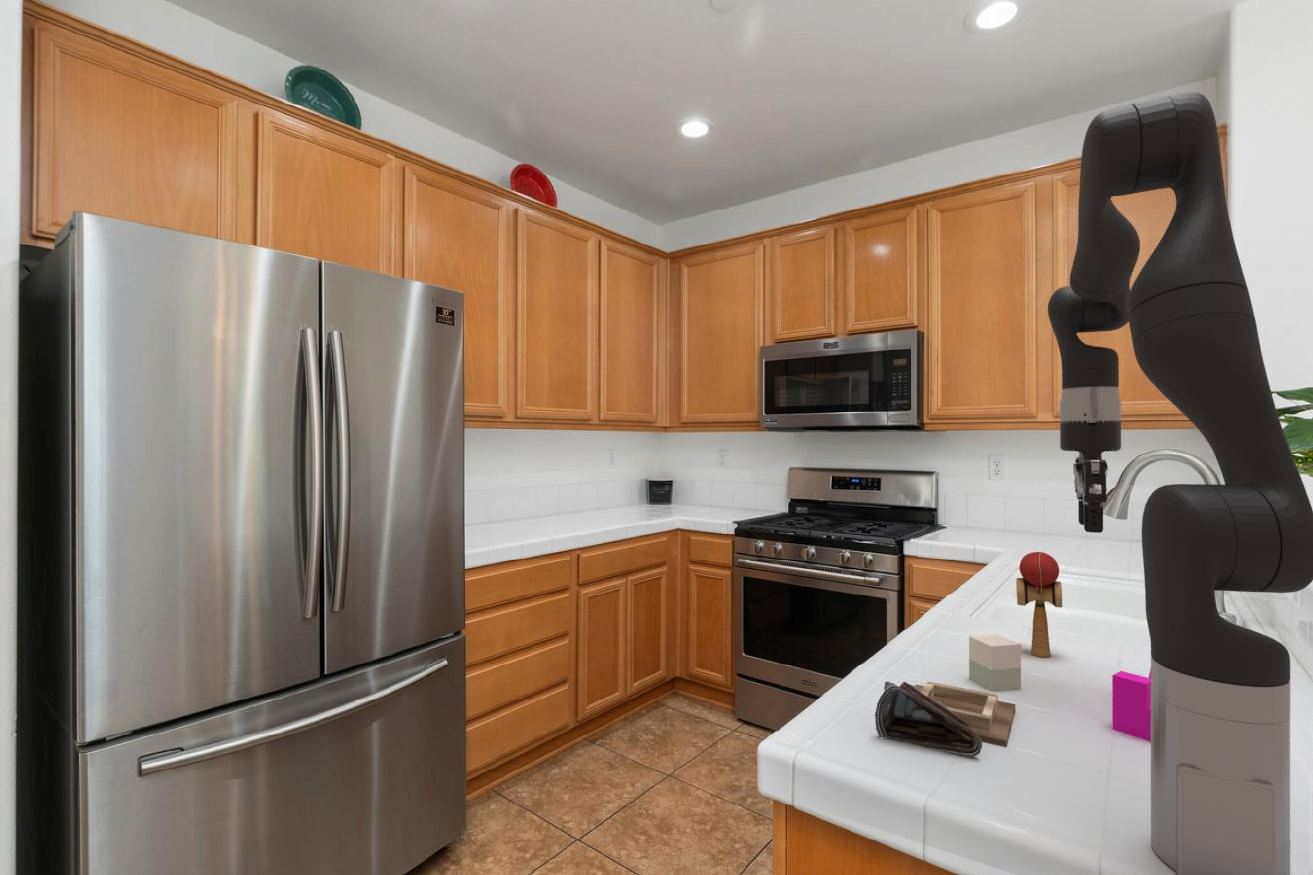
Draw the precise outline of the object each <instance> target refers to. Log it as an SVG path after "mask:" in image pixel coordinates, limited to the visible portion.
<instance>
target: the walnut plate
mask: <svg viewBox="0 0 1313 875" xmlns="http://www.w3.org/2000/svg"><path fill="white" fill-rule="evenodd" d="M914 686H917V687H918V688H919V690H920V691H921V692H922V693H923V694H924V695H926V696H928V697H930V698H931V699H933V700H934V701H935V702H938V701H940V702H942V703H943V704H944V705H945V707H946V708H947V709H949V710H950V711H951V712H953V713H955V714H956V715H957V716H959V717H960V718H962V719H963V720H964V721H965V722H967V724H968V725H969V727H970V728H971V729H972V730H974V731H975V732H976V733H977V734H978V735H979V737H980V739H981V741H982V743H983V742H984V743H987V744H992V745H996V746H1000V747H1004V748H1007V746H1008V743H1009V738H1010V735H1011V730H1012V726H1013V721H1014V719H1015V714H1016V703H1011V702H1007V701H1001V700H998V699H999V698H998V697H999V696H998V694H996V693H990V692H985V691H980V690H975V689H974V690H973V689H969V688H965V687H958V686H954V685H947V684H944V683H943V684H942V683H939V682H933V681H926V684H924V685H920V684H915V685H914Z"/></svg>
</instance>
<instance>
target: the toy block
mask: <svg viewBox="0 0 1313 875" xmlns="http://www.w3.org/2000/svg"><path fill="white" fill-rule="evenodd" d="M1111 678H1112V684H1111V685H1112V687H1111V688H1112V690H1111V692H1112V693H1111V694H1112V701H1111V702H1112V707H1111V708H1112V716H1111V718H1112V720H1111V721H1112V725H1111V726H1112V728H1111V729H1112V730H1113V731H1117V732H1120V733H1123V734H1125V735H1128V736H1129V735H1130V736H1132V737H1136V738H1138V739H1141V740H1144V741H1148V742H1150V743H1151V667H1150V670H1149V674H1148V677H1146V676H1143V675H1138V674H1135V673H1131V672H1127V671H1123V670H1120V671H1118V672H1116V673H1114V674H1112V677H1111Z"/></svg>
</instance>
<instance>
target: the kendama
mask: <svg viewBox="0 0 1313 875" xmlns="http://www.w3.org/2000/svg"><path fill="white" fill-rule="evenodd" d="M1019 572H1020V575H1021V576H1022V577H1016V578H1015V579H1016V580H1015V582H1016V584H1015V585H1016V600H1017V601H1016V603H1017V605H1018V606H1026V605H1029V603H1031V602H1034V601H1035V603H1034V609H1033V618H1032V630H1031V631H1032V634H1031V646H1030V647H1031V648H1030V654H1031V655H1032V656H1035V657H1037V658H1038V657H1039V658H1049V657H1051V649H1050V648H1051V647H1050V636H1049V624H1048V623H1049V622H1048V616H1047V610H1046V605H1045V604H1046V603H1049V604H1051V605H1053V607H1055V608H1063V589H1062V587H1063V586H1062V582H1061V581H1058V578H1059V575H1060V567H1059V564H1058V562H1057V560H1056V559H1055V558H1054V557H1053V556H1051V555H1050V554H1048V553H1046V552H1042V551H1034V552H1029V553H1027V554H1026V555H1024V556H1022V558H1021V560H1020V563H1019Z"/></svg>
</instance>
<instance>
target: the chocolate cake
mask: <svg viewBox="0 0 1313 875" xmlns="http://www.w3.org/2000/svg"><path fill="white" fill-rule="evenodd" d="M883 687H884V691H883V692H882V694H881V695H880V698H879V699H878V702H877V703H876V704H877V705H876V709H875V713H874V720H875V721H874V722H875V730H876V733H877V735H878V737H879V739H880V738H881V737H882V739H885V738H884V737H888V738H887V739H891V738H892V739H891V740H896V741H899V742H904V743H907V744H911V745H914V746H915V745H916V746H920V747H923V748H926V749H930V750H935V751H937V752H942V753H946V754H950V755H954V756H957V757H964V758H974V757H978V756H979V755H980V754H981V750H982V749H983V742H982V741H981V739H980V737H979V735H978V734H977V733H976V732H975V731H974V730H972V729H971V728H970V727H969V725H968V724H967V722H965V721H964V720H963V719H962V718H960V717H959V716H957V715H956V714H955V713H953V712H951V711H950V710H949V709H947V708H946V707H945V705H944V704H943V703H942V702H940V701H938V702H935V701H934V700H933V699H931V698H930V697H928V696H926V695H924V694H923V693H922V692H921V691H920V690H919V688H918V687H917V686H915V685H913V684H911V683H908V682H906V681H902V682H901V684H900V685H899V686H898V685H896V684H895V683H893V682H891V681H885V682H884V686H883Z"/></svg>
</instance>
